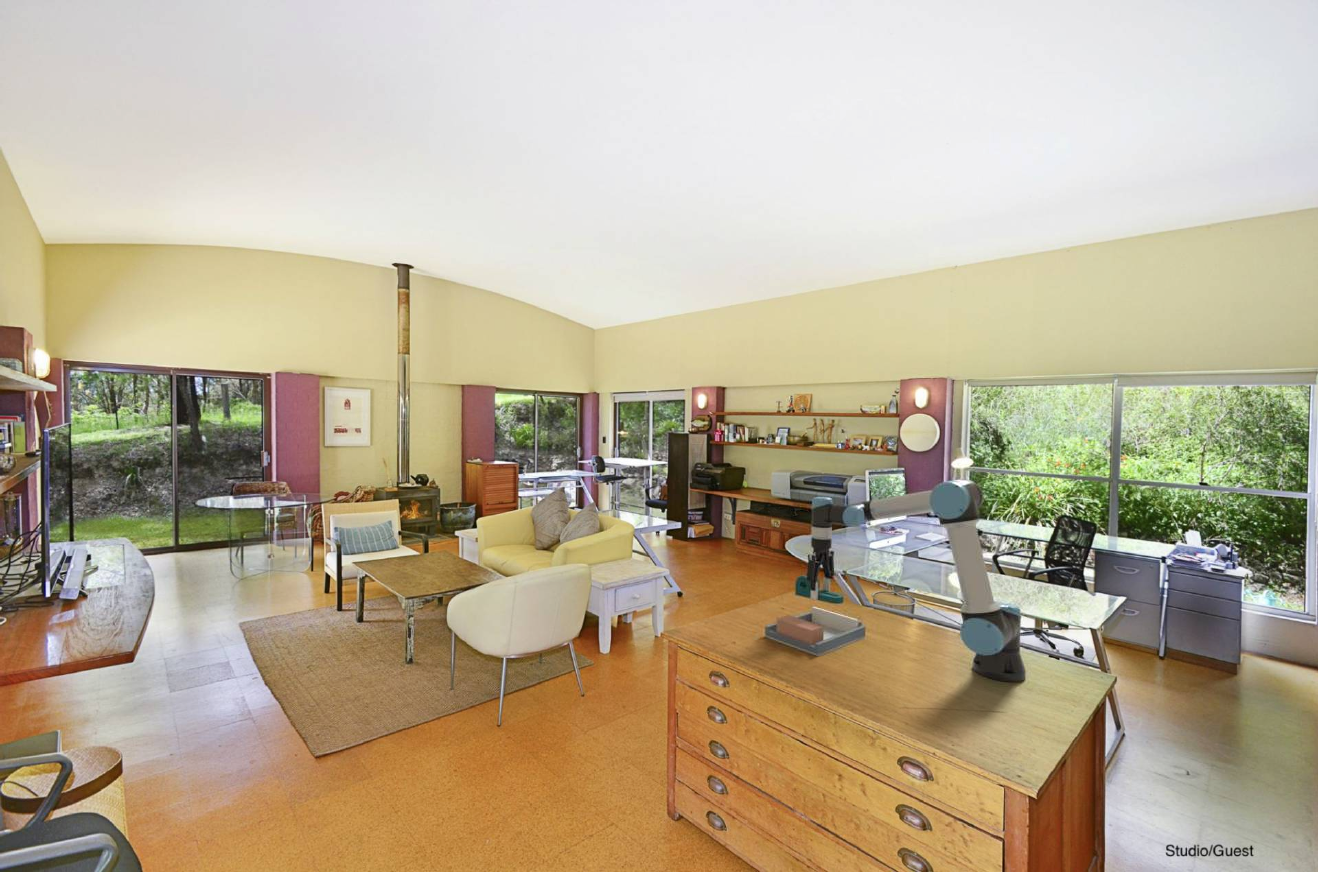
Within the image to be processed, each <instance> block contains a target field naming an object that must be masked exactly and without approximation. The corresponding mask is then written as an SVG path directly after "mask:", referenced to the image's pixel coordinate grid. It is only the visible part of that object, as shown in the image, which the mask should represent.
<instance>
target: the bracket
mask: <svg viewBox="0 0 1318 872" xmlns="http://www.w3.org/2000/svg"><path fill="white" fill-rule="evenodd" d="M817 582H818V600H816V599H814V600H815V601H820V602H824V603H828V604H834V605H835V604H836V605H840V604H844V602H845V601H844V599H845V596H844V594H841V593H839V592H834V591H831V590H830V591H825V590H823V589H821V586H820V585H821V583H820V579H819V577H818V578H817ZM810 584H811V583H810V581H808V580H807V573H806V574H804V575H801V576H800V575H799V577H797V578H796V580H795V585H794V586H795V589H794V590H795V592H794V593H795V594H794V595H795V596H799V597H803V598H806V599H811V600H813V599H812V598H811V589H810V588H811V587H810Z"/></svg>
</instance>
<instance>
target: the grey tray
mask: <svg viewBox="0 0 1318 872" xmlns="http://www.w3.org/2000/svg"><path fill="white" fill-rule="evenodd" d="M794 617H796V618H799V619H802V620H805V621H808V622H811V623H814V622H812V610H811V611H809V612H805V613H801V614H799V615H796V616H794ZM815 624H817V623H815ZM818 625H820V624H818ZM821 626H824V625H821ZM776 628H777V621H776V622H774V623H769V624H768V625H765V627H764V637H765V638H767V639H770V640H773V641H776V642H778V643H782V644H783V645H786V646H789V647H792V648H794V649H797V650H800V651H803V652H806V653H808V654H811V655H814V656H816V657H820V656H823V655H825V654H828V653H830V652H833V651H835V650H837V649H840V648H843V647H844V646H847V645H850V644H852V643H854V642H857V641H860V640H862V639H864V638H866V626H865V625H863V621H861V620H858V627H857V628H854V629H852V630H849V631H846V632H842V631H839V630H836V629H833V628H830V627H827V626H824V638H823V641H820V642H817V643H815V646H814V645H811V644H808V643H805V642H803V641H800V640H797V639H794V638H791V637H789V636H786V635H783V634H780V633H777V632H776Z"/></svg>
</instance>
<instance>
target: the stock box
mask: <svg viewBox="0 0 1318 872" xmlns="http://www.w3.org/2000/svg"><path fill="white" fill-rule="evenodd" d="M776 622H777V628H776V632H777V633H780V634H783V635H786V636H789V637H791V638H794V639H797V640H800V641H803V642H805V643H808V644H811V645H814V646H815V643H817V642H820V641H823V638H824V626H821V625H818V624H815V623H811V622H808V621H805V620H802V619H799V618H796V617H795V616H793V615H789V614H787V615H785V616H781V617H778V618H776Z"/></svg>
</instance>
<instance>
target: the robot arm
mask: <svg viewBox="0 0 1318 872" xmlns="http://www.w3.org/2000/svg"><path fill="white" fill-rule="evenodd" d="M983 500H984V494H983V491H982V489H981V487H980V486H979V485H978V483H976V482H975V481H973V480H970V479H966V478H960V479H954V480H953V479H952V480H947V481H943V482H941V483H939V484H937V485H936V486H935V487H934V488H933V489H932V490H931V489H930V490H925V491H919V492H914V493H907V494H903V495H896V496H890V497H889V496H888V497H885V498H878V499H872V500H867V501H859V502H856V503H849V504H837V503H834V502H833V498H831V497H828V496H827V497H826V496H816V497H813V498H812V500H811V501H812V502H811V538H810V546H811V548H812V549H813V551H812V554H810V553H808V555H807V559H808V560H807V571H806V574H807V580H808V581H810V583H811V584H810V587H811V588H810V589H811V598H812V599H811V598H810V599H811V600H815V599H816V600H815V601H819V600H818V582H817V578H818V579H819V577H818V576H819V573H820V568H821V566H822V571H823V576H824V577H822V590H825V591H830V592H831V580H833V579H834V576H835V562H834V555H835V551H834V550H830V549H832V541H833V539H831V538H832V537H833V533H832V531H833V530H832V529H833V525H839V526H845V527H850V528H852V527H854V528H855V527H856V528H859V527H861V526H862V524H863V523H866V522H872V521H878V520H885V519H892V518H899V517H907V516H914V515H920V514H928V513H934V514H936V515H937V517H938V521H939V525H940V526H941V527H943V528H945V530H946V532H947V533H946V534H947V537H948V542H949V546H950V551H951V553H952V554H951V555H952V558H953V562H954V567H955V570H956V571H955V572H956V574H957V575H956V576H957V580H958V584H959V589H960V592H961V593H960V594H961V596H962V601H963V605H962V606H961V607H960V610H959V611H960V615H961V619H962V624H961V626H960V629H959V630H960V631H959V632H960V638H961V640H962V642H963V644H964V646H966V647H967V648H968V649H969V650H970V651H972V652H973V653H975V655H974V656H973V657H974V658H973V661H972V669H973V670H974V672H976V673H977V674H979V675H981V676H983V677H986V678H988V679H992V680H995V681H1001V682H1010V683H1011V682H1012V683H1015V682H1022V681H1024V680H1025V679H1026V675H1027V674H1026V673H1027V670H1026V667H1025V665H1024V661H1023V659H1022V655H1021V627H1022V626H1021V625H1022V624H1021V623H1022V621H1021V620H1022V615H1021V612H1022V611H1021V608H1020V607H1019V606H1017V605H1015V604H1012V603H1007V602H1004V601H996V600H995V599H994V595H993V591H992V587H991V583H990V579H989V574H988V572H987V567H986V562H985V559H984V553H983V550H982V546H981V542H980V538H979V533H978V529H977V524H978V523H979V521H980V516H979V511H978V509H980V507H981V506H982V504H983V502H984V501H983Z"/></svg>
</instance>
